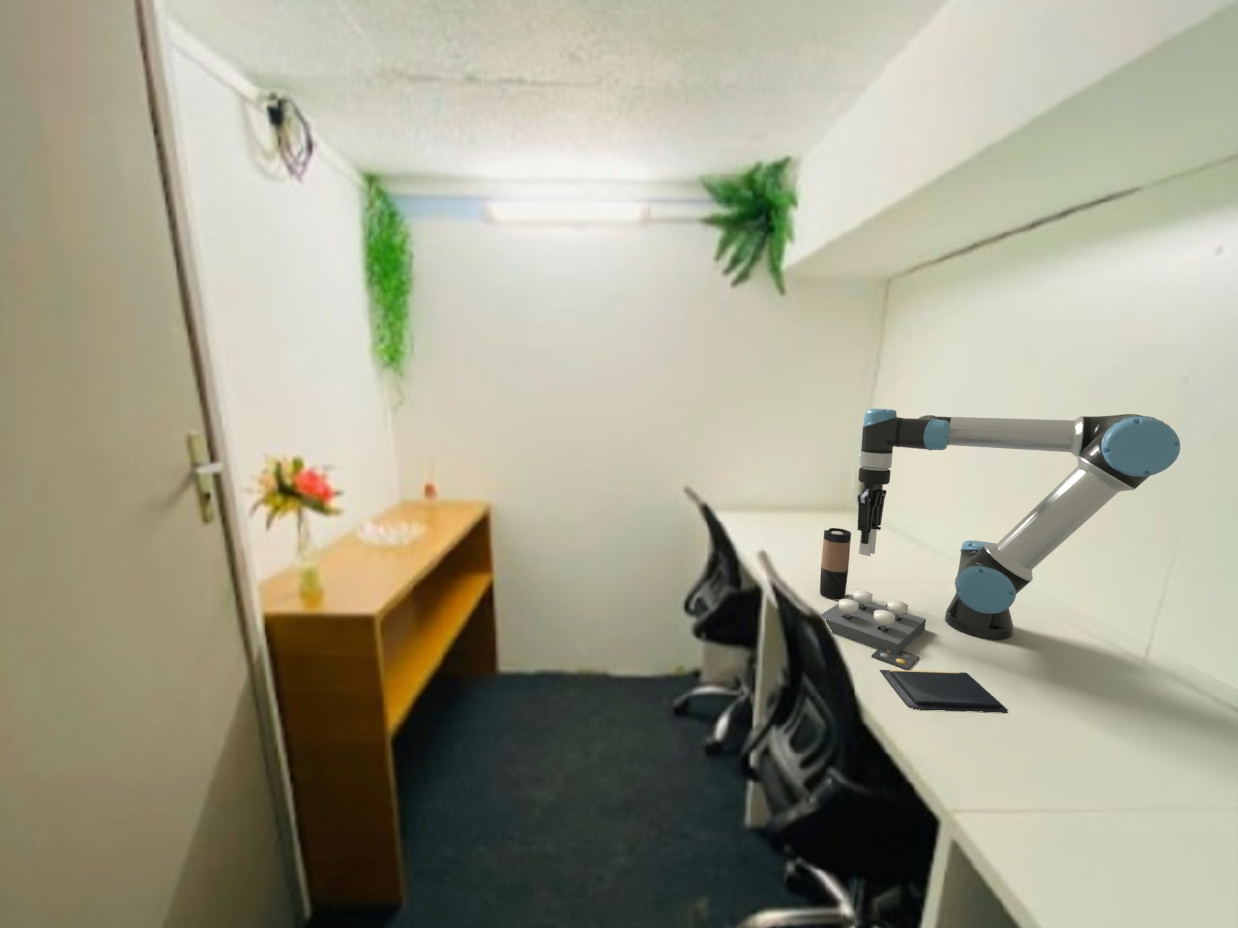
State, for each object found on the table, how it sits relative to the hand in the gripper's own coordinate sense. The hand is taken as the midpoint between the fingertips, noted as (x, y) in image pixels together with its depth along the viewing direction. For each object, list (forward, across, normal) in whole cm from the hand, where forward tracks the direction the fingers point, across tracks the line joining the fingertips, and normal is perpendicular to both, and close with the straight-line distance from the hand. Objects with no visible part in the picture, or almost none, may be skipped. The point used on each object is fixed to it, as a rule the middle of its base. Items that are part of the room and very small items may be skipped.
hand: (866, 553), depth 146 cm
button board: (+18, +4, +4) cm, 20 cm away
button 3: (+16, 0, 0) cm, 16 cm away
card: (+18, +16, +14) cm, 28 cm away
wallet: (+19, +23, +26) cm, 40 cm away
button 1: (+16, 0, +9) cm, 19 cm away
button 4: (+16, +9, 0) cm, 19 cm away
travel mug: (+19, -10, -12) cm, 24 cm away
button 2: (+16, +9, +9) cm, 21 cm away
